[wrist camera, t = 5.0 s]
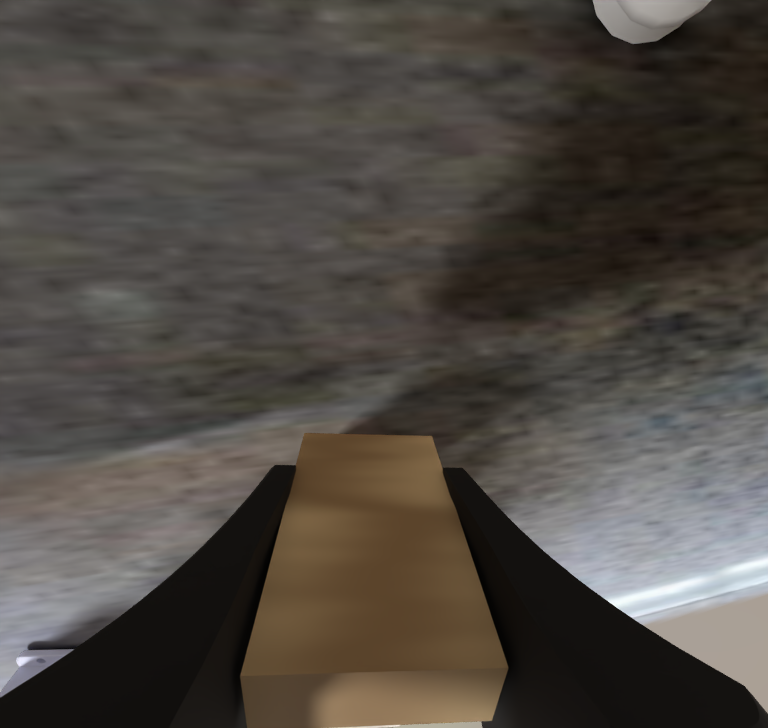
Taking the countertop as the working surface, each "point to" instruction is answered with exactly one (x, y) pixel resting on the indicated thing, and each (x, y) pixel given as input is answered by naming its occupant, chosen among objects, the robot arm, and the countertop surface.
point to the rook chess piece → (645, 17)
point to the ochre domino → (371, 597)
